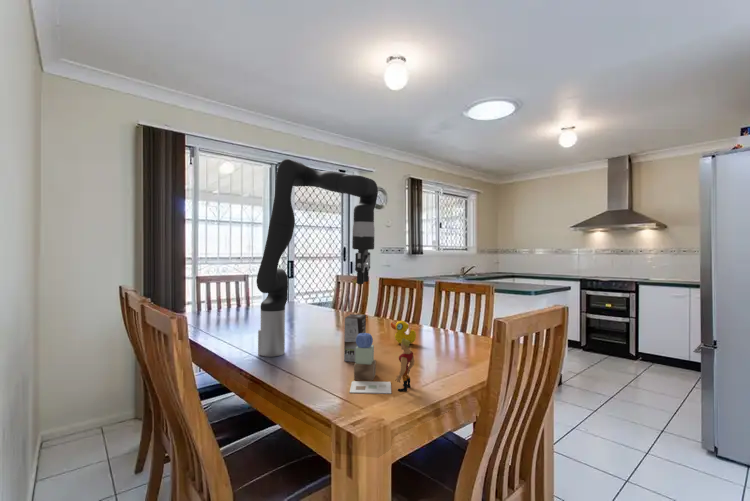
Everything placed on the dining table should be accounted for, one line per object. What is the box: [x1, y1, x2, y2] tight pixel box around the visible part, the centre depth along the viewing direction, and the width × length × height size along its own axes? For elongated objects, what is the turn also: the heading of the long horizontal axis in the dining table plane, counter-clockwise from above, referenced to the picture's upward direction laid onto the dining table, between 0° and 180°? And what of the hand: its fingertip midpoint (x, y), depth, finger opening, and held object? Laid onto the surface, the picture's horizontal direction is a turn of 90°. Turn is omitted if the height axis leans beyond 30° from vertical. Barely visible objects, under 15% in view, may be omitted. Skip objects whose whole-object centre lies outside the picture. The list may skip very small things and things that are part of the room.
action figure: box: [395, 338, 415, 392], centre depth 115 cm, size 10×4×15 cm, turn 156°
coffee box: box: [343, 313, 367, 363], centre depth 146 cm, size 9×6×16 cm
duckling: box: [390, 320, 417, 345], centre depth 169 cm, size 11×5×10 cm, turn 70°
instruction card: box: [349, 380, 392, 395], centre depth 115 cm, size 12×9×1 cm
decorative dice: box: [356, 332, 374, 348], centre depth 125 cm, size 4×4×4 cm
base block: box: [353, 359, 377, 382], centre depth 125 cm, size 6×6×5 cm
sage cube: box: [354, 344, 375, 365], centre depth 125 cm, size 5×5×5 cm
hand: (362, 282), depth 133 cm, fingers open, 8 cm apart
